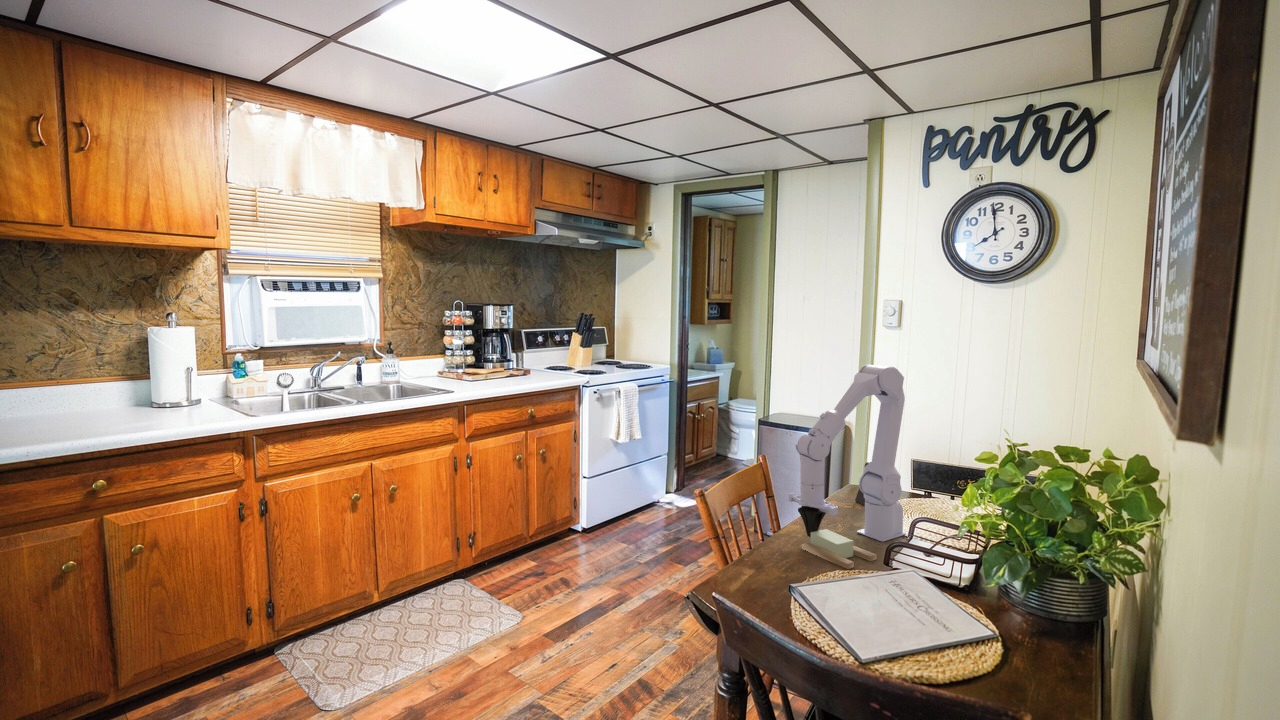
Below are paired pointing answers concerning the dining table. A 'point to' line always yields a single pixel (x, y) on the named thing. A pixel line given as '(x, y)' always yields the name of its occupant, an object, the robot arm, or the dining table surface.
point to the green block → (832, 543)
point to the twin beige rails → (839, 559)
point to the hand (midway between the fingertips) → (812, 535)
